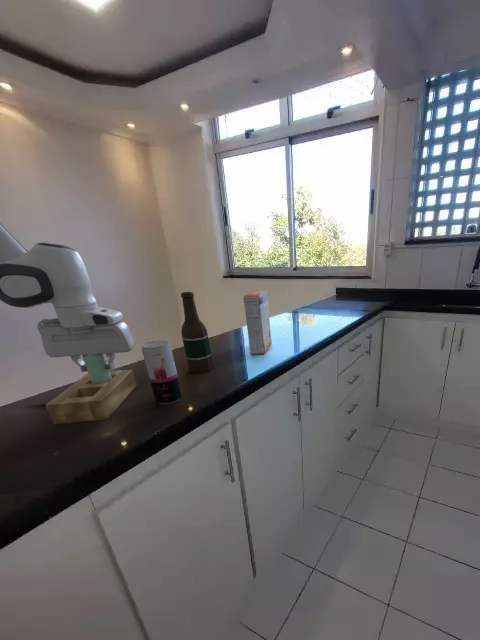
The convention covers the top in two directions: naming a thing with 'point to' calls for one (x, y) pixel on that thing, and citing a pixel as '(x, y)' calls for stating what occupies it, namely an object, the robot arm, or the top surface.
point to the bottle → (97, 368)
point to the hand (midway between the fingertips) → (98, 370)
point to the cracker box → (258, 321)
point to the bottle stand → (91, 398)
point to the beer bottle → (195, 337)
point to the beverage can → (162, 371)
